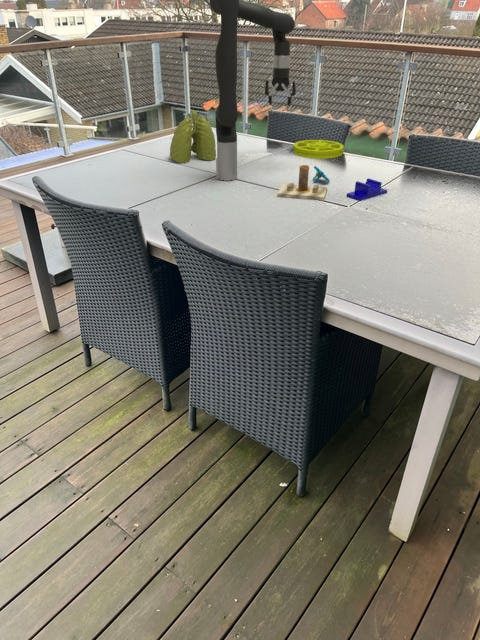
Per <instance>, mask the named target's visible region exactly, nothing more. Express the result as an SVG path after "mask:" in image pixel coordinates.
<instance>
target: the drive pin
mask: <svg viewBox="0 0 480 640" xmlns="http://www.w3.org/2000/svg"><path fill="white" fill-rule="evenodd" d="M309 170H310V166H309V165H306V164H303V165H299V171H298V173H299V174H298V183H297V185H298V190H299V191H307V188H308V186H309V173H310V171H309Z"/></svg>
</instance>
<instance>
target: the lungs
mask: <svg viewBox="0 0 480 640" xmlns="http://www.w3.org/2000/svg"><path fill="white" fill-rule="evenodd" d="M197 115H198V112H197V111H196V110H195V109H193V110H191V116H192V117H190V116H186V117H185V118H184V119H183V120H182V121H181V122H179V124H178V125H177V126H176V128H175V129H174V131H173V136H172V138H171V142H170V146H169V147H170V148H169V157H170V158H171V159H172V160H173V161H174V162H176V163H178V164H182V163H183V164H187V163H186V162H188V163H189V162H190V161H191V157H192V156H191V154H192V152H193V153H194V154H196V158H198V159H201V160H204V161H206V160H207V161H209V160H210V162H212V161H213V160H214V159H215V158H216V157H217V144H216V139H215V134H214V131H213V129H212V126H211V124H210V122H209V121H208V119H207V118H205V116H204V115H202V114H199V115H198V116H197ZM191 118H192V119H191ZM211 160H212V161H211Z"/></svg>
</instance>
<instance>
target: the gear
mask: <svg viewBox="0 0 480 640" xmlns="http://www.w3.org/2000/svg"><path fill="white" fill-rule="evenodd" d="M313 168H314V170H315V171H316V172H315V173H316V174H315V176H314V177H313V178H312V181H313V183H315V184H316V182H318V181H319V180H320V179H321V178H323V179H324V181H326V182H327V183H330V182H331V181H330V180H331V179H329V177H327V175H326V174H325V172H324V171H322V170H321V169H319V168H318V167H317V166H316V165H314V166H313Z"/></svg>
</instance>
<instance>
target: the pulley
mask: <svg viewBox="0 0 480 640" xmlns="http://www.w3.org/2000/svg"><path fill="white" fill-rule="evenodd" d="M344 146H345V145H344V144H342V143H341V142H339V141H338V142H337V141H332V140H326V139H325V140H324V139H308V140H299V141H296V142H295V143H294V144H293V154H295V155H296V156H298V157H303V158H307V159H308V158H309V159H319V160H320V159H321V160H323V159H325V160H326V159H333V158H334V159H335V158H339V157H342V154H343V155H344V148H345V147H344ZM338 156H339V157H338Z"/></svg>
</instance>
